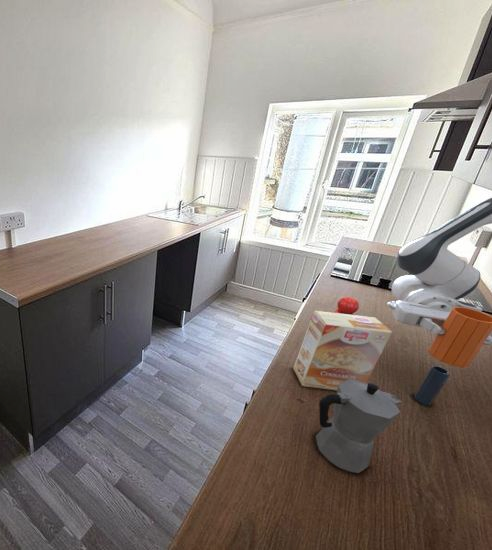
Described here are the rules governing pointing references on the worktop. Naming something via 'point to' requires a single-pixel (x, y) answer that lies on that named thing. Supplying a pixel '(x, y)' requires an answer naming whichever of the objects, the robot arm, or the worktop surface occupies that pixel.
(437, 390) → the slim cup
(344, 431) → the coffeepot
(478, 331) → the orange staved tumbler
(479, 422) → the worktop surface
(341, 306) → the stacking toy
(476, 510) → the worktop surface
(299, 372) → the coffeecake box
